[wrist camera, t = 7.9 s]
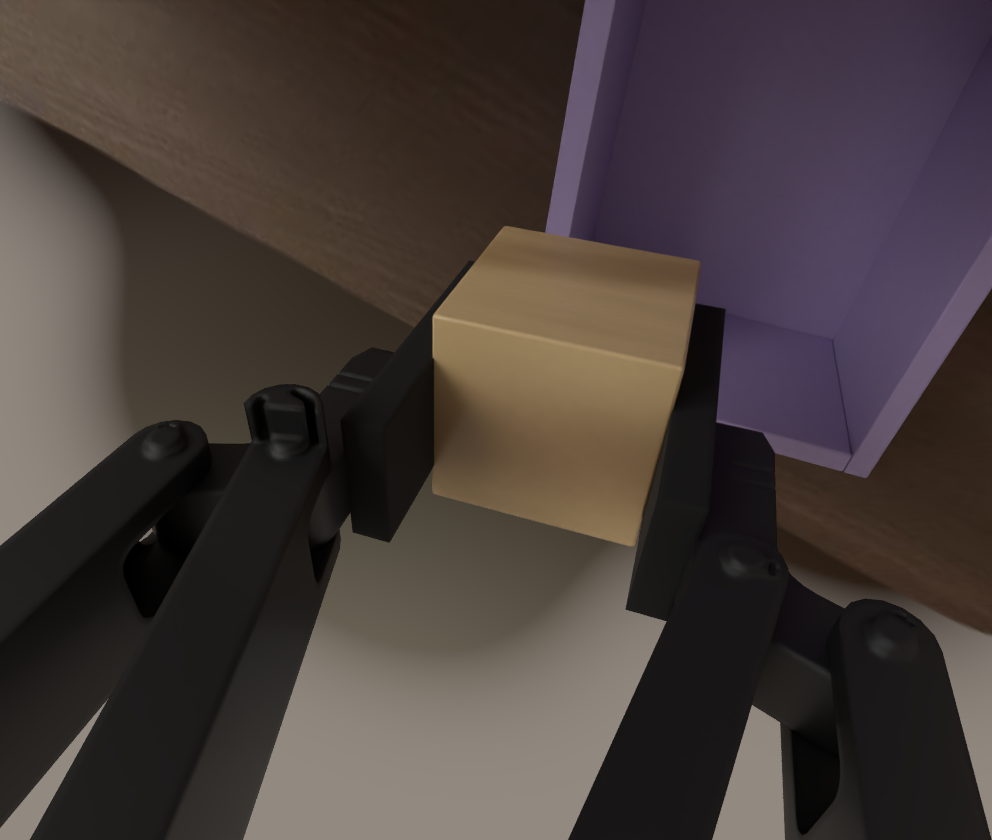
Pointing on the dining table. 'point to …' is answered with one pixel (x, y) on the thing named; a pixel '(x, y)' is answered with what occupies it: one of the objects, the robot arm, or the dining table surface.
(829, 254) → the box
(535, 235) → the beech block
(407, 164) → the dining table surface
